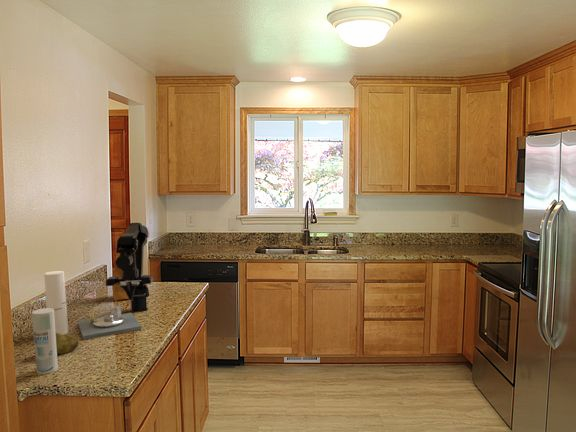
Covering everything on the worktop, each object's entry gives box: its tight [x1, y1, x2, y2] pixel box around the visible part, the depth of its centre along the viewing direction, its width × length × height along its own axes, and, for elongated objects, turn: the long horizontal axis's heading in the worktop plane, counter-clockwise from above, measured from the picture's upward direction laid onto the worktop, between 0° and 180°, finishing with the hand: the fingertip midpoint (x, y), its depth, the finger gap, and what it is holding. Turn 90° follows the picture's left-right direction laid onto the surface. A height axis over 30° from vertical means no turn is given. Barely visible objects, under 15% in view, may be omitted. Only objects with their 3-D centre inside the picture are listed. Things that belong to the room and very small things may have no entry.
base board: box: [77, 311, 142, 341], centre depth 200 cm, size 22×22×6 cm
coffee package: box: [111, 265, 129, 302], centre depth 246 cm, size 10×12×22 cm
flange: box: [93, 304, 124, 327], centre depth 202 cm, size 12×15×4 cm
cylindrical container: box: [43, 270, 69, 335], centre depth 193 cm, size 7×7×25 cm
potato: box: [55, 332, 79, 355], centre depth 172 cm, size 8×13×8 cm, turn 104°
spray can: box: [31, 307, 59, 375], centre depth 157 cm, size 6×6×20 cm
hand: (130, 299), depth 208 cm, fingers closed
